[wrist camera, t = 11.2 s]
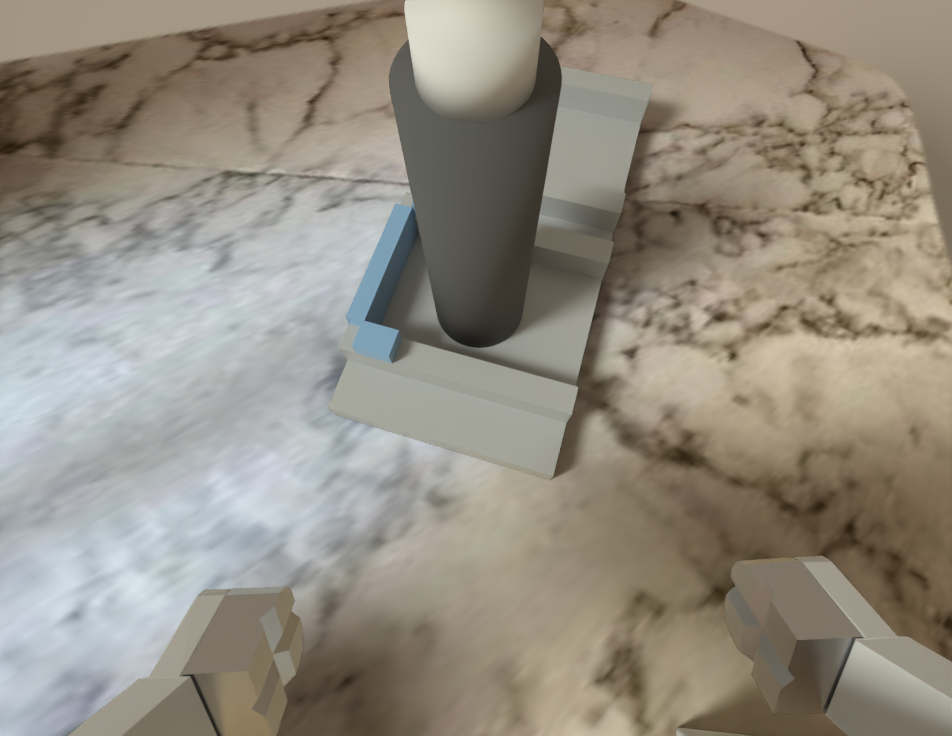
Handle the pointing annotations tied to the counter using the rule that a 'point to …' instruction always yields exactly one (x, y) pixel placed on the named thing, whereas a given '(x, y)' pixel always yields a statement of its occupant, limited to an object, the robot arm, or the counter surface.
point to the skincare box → (703, 733)
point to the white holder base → (544, 314)
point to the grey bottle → (476, 153)
